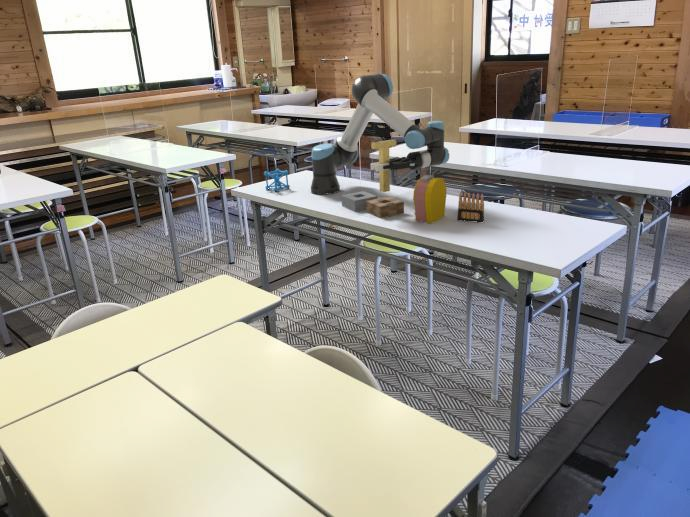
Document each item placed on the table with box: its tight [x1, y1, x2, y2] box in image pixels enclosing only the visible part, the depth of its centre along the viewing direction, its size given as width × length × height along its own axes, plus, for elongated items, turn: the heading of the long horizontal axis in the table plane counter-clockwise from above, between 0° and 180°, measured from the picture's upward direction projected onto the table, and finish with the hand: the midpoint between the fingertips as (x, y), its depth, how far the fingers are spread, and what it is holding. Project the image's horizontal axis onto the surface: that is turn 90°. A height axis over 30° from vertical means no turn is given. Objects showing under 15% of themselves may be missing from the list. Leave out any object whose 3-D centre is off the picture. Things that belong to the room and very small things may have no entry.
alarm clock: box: [412, 174, 447, 224], centre depth 225 cm, size 15×8×18 cm, turn 145°
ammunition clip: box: [456, 191, 485, 223], centre depth 220 cm, size 11×2×12 cm, turn 62°
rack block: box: [341, 190, 378, 212], centre depth 251 cm, size 12×12×5 cm
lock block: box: [365, 196, 405, 219], centre depth 239 cm, size 12×12×5 cm
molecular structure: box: [263, 168, 291, 192], centre depth 289 cm, size 10×10×10 cm
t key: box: [370, 139, 397, 193], centre depth 232 cm, size 3×11×21 cm, turn 120°
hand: (373, 167), depth 230 cm, fingers closed on t key, 3 cm apart
